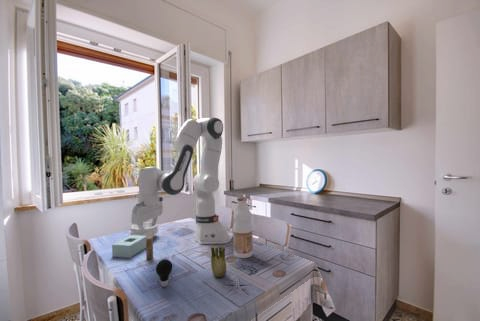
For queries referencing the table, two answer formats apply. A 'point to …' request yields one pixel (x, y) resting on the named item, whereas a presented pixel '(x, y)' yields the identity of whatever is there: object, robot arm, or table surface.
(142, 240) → the hole block
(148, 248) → the walnut peg
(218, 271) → the fennel bulb
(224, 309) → the table surface
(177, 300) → the table surface
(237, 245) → the fruit juice
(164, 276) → the light bulb
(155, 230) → the paper bowls
